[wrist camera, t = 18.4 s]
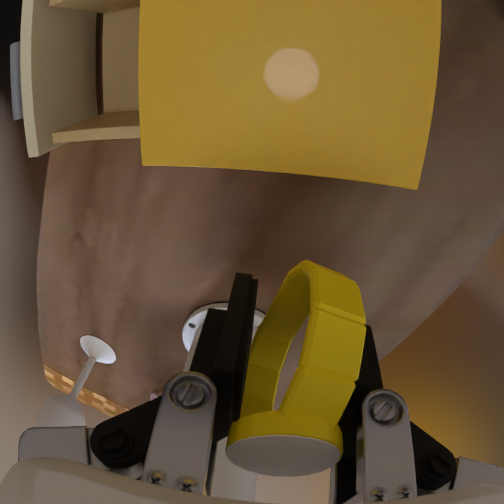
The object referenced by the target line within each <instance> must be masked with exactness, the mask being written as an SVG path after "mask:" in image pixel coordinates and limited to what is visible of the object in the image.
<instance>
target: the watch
mask: <svg viewBox="0 0 504 504" xmlns="http://www.w3.org/2000/svg"><path fill="white" fill-rule="evenodd" d="M309 314H310V316H309V320H308V325H307V329H306V334H305V338H304V342H303V347H302V351H301V355H300V359H299V363H298V365H299V368H297V369H296V372H295V374H294V376H293V379H292V381H291V383H290V385H289V388H288V390H287V392H286V394H285V397H284V399H283V401H282V403H281V405H280V407H279V410H274V411H273V403H274V399H275V395H276V390H277V385H278V381H279V376H280V373H279V372H281V369H282V366H283V364H284V361H285V358H286V355H287V353H288V350H289V347H290V344H291V341H292V340H293V338H294V337H295V335H296V334H297V332H298V331H299V329H300V328H301V326H302V325H303V323H304V322H305V320H306V318H307V317H308V315H309ZM365 323H366V318H365V313H364V308H363V304H362V299H361V294H360V290H359V286H357V283H356V282H354V281H353V280H351V279H349V278H348V277H346V276H345V275H343V274H341V273H338V272H336V271H333V270H331V269H328V268H326V267H323V266H321V265H318V264H316V263H313V262H311V261H308V260H304V261H302V262H300V263H299V264H298V265H296V266H295V267H294V268H293V269H291V270H290V271H289V272H288V273H287V276H286V278H285V280H284V281H283V283H282V285H281V287H280V289H279V291H278V293H277V295H276V296H275V298H274V300H273V302H272V304H271V306H270V307H269V309H268V311H267V313H266V315H265V317H264V318H263V320H262V322H261V324H260V325H258V326H257V328H258V329H257V330H256V333H255V335H254V338H253V341H252V344H251V348H250V355H249V362H248V368H247V375H246V382H245V388H244V395H243V401H242V408H241V414H240V419H239V420H237V421H236V422H233V424H232V425H231V427H230V430H229V432H228V438H227V443H226V449H225V451H226V452H225V454H226V456H227V458H228V460H229V461H230V462H232V463H233V464H234V465H236V466H238V467H240V468H242V469H245V470H247V471H250V472H254V473H258V474H263V475H271V476H302V475H309V474H313V473H318V472H321V471H323V470H326V469H328V468H330V467H332V466H334V465H335V464H336V463H337V462H338V461H339V460H340V459H341V457H342V454H343V437H342V431H341V429H340V427H339V426H338V425H337V424H338V422H339V420H340V418H341V416H342V414H343V412H344V410H345V408H346V406H347V404H348V402H349V400H350V398H351V395H352V393H353V391H354V389H355V387H356V386H355V383H354V382H355V381H356V380H357V379H358V377H359V371H360V366H361V360H362V354H363V348H364V341H365V334H366V327H365Z"/></svg>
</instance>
